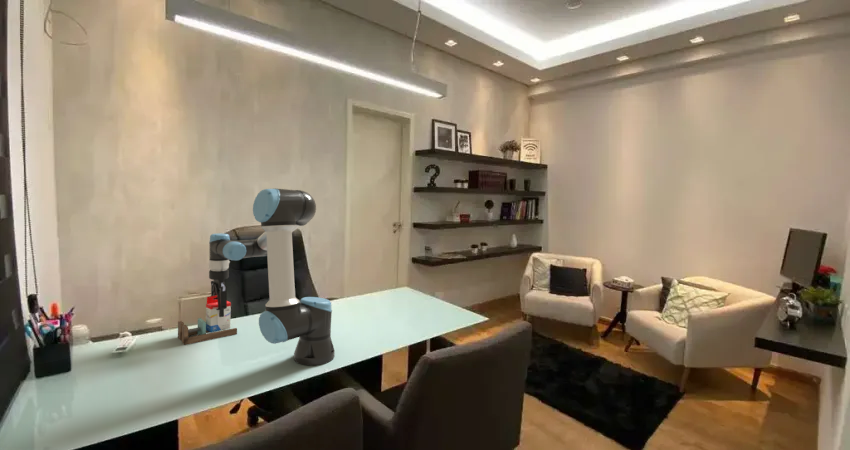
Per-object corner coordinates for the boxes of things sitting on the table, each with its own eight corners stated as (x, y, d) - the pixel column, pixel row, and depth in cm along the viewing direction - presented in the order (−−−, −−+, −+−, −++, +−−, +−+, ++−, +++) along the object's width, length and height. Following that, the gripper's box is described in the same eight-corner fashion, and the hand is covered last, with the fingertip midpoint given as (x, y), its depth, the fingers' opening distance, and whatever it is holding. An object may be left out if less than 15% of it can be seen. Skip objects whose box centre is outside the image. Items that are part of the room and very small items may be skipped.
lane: (237, 334, 168) (237, 318, 167) (184, 345, 153) (184, 328, 153) (228, 327, 175) (228, 312, 174) (177, 337, 161) (178, 321, 160)
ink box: (210, 333, 162) (210, 299, 161) (205, 330, 165) (205, 296, 164) (230, 328, 169) (231, 295, 168) (225, 325, 172) (225, 293, 171)
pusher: (205, 338, 160) (206, 322, 160) (186, 342, 155) (186, 325, 155) (200, 333, 165) (200, 318, 165) (181, 337, 160) (181, 321, 160)
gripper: (236, 272, 161) (235, 325, 163) (221, 265, 174) (220, 315, 176) (216, 274, 156) (215, 329, 157) (203, 266, 169) (202, 318, 170)
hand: (218, 321), depth 167 cm, fingers closed on ink box, 5 cm apart
